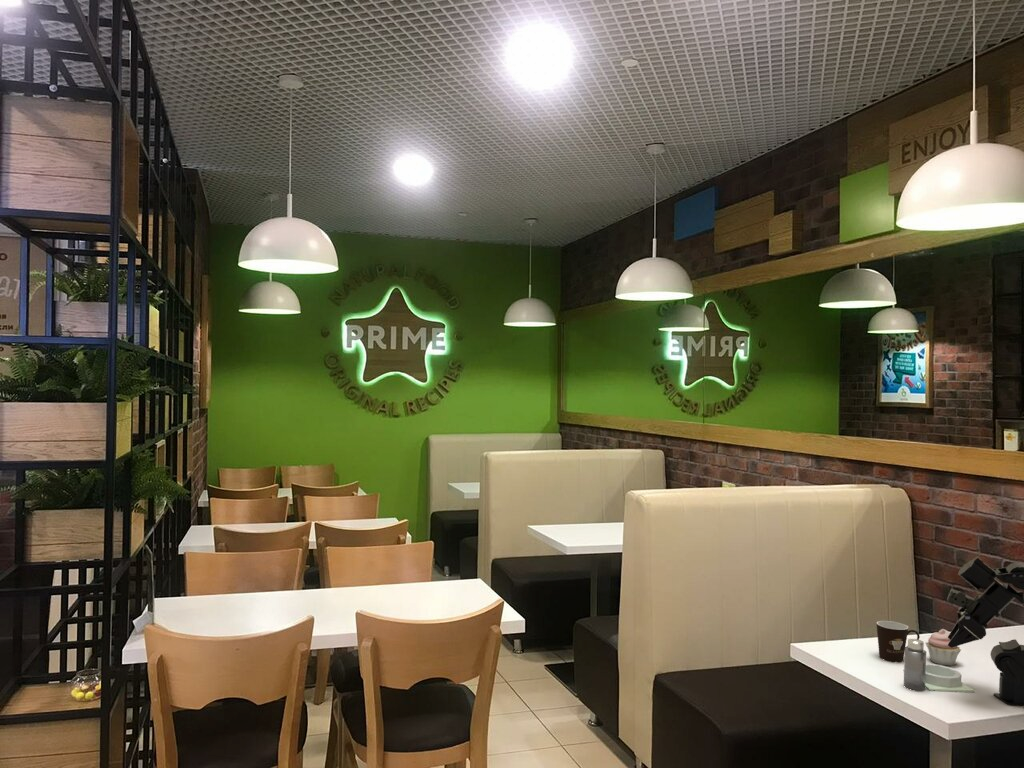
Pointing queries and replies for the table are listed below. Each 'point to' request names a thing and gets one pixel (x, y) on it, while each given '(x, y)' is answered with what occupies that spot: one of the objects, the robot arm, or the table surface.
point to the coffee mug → (892, 640)
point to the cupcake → (942, 648)
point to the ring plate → (944, 679)
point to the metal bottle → (915, 665)
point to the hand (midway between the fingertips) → (949, 642)
